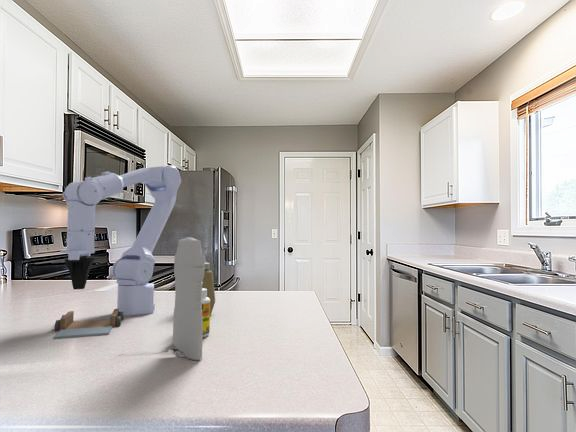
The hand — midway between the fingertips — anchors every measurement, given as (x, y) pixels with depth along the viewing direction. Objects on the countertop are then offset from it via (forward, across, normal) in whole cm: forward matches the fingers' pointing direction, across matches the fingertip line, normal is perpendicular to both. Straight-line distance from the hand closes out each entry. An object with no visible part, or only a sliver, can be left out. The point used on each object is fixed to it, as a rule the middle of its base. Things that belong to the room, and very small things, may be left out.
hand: (79, 288), depth 85 cm
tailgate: (+8, +6, +3) cm, 11 cm away
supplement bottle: (+10, +14, +26) cm, 31 cm away
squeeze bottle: (+10, -7, +29) cm, 31 cm away
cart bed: (+9, +1, +3) cm, 10 cm away
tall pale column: (+10, +26, +23) cm, 36 cm away
